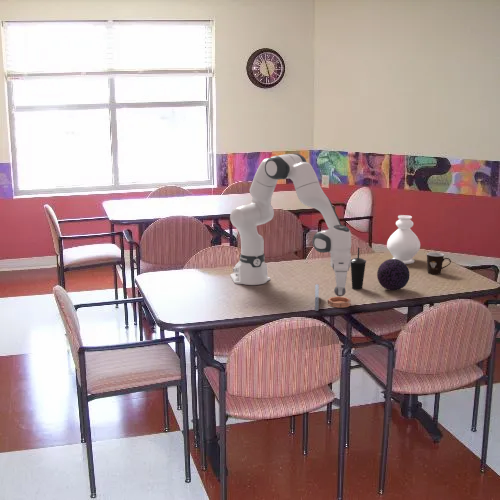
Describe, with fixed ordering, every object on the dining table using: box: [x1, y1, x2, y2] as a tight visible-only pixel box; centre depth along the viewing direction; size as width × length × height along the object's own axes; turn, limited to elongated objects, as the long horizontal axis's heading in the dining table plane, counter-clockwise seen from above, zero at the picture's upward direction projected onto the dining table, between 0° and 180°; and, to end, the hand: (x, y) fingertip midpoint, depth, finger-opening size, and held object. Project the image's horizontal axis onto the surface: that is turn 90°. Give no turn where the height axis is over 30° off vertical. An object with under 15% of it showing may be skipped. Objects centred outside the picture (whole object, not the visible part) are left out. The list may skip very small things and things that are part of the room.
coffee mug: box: [426, 251, 452, 276], centre depth 361 cm, size 12×9×10 cm
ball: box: [333, 286, 346, 297], centre depth 311 cm, size 5×5×5 cm
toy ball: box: [376, 258, 411, 292], centre depth 332 cm, size 15×15×15 cm
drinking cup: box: [350, 247, 367, 291], centre depth 335 cm, size 8×8×20 cm
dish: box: [327, 296, 352, 309], centre depth 313 cm, size 10×10×2 cm
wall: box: [314, 283, 320, 312], centre depth 313 cm, size 20×2×6 cm, turn 175°
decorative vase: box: [386, 214, 421, 265], centre depth 385 cm, size 18×18×25 cm
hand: (339, 292), depth 311 cm, fingers closed on ball, 5 cm apart
